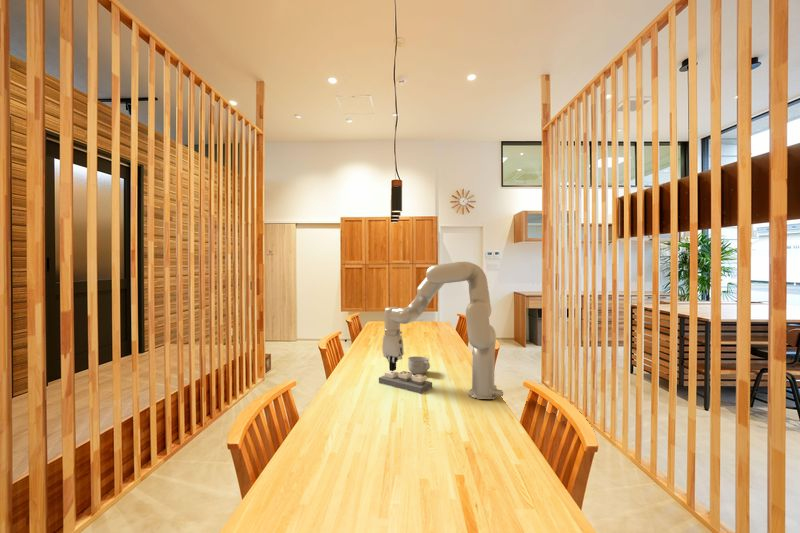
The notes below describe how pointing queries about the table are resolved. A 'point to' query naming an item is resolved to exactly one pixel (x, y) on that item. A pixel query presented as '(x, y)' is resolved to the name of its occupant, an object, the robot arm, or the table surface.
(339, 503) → the table surface
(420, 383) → the button two
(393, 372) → the button one
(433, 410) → the table surface
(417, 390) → the button panel
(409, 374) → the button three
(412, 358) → the teacup
